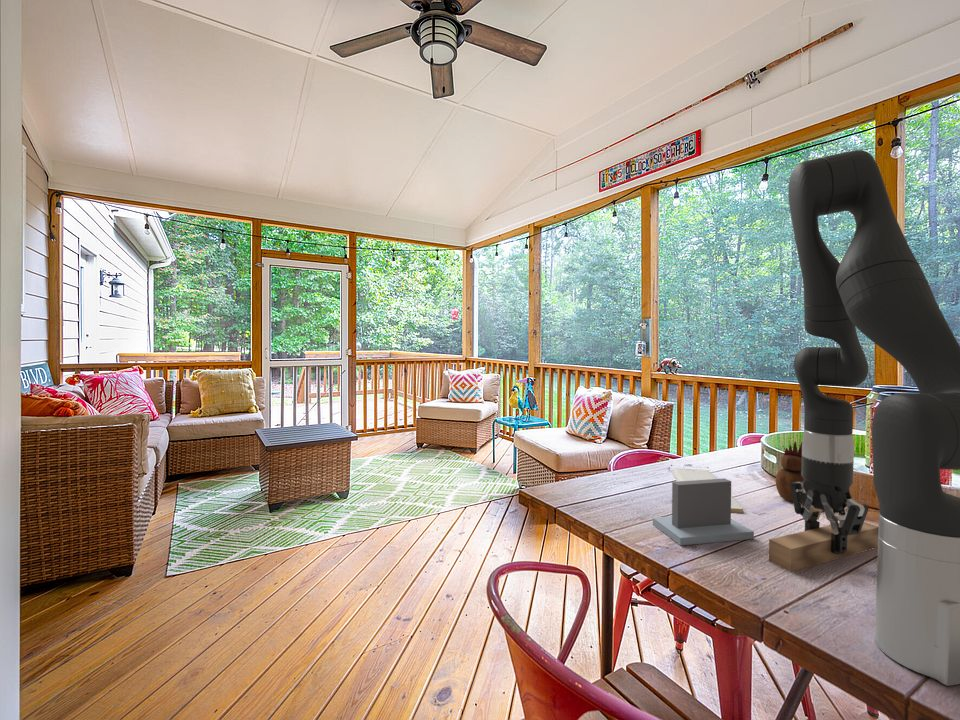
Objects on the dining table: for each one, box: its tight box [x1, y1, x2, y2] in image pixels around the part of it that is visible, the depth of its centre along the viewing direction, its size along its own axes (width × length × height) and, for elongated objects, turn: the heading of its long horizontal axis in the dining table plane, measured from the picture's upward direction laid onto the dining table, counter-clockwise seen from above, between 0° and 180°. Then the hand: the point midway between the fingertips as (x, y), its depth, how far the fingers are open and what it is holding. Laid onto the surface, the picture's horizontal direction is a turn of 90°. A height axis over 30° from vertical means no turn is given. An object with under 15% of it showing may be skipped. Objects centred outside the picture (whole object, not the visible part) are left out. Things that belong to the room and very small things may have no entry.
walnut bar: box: [768, 521, 879, 572], centre depth 83 cm, size 24×4×4 cm, turn 110°
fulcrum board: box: [652, 477, 755, 546], centre depth 93 cm, size 10×16×10 cm, turn 99°
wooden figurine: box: [775, 441, 805, 503], centre depth 110 cm, size 7×6×15 cm
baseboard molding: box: [668, 464, 744, 514], centre depth 119 cm, size 31×3×12 cm
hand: (824, 546), depth 83 cm, fingers closed on walnut bar, 4 cm apart
